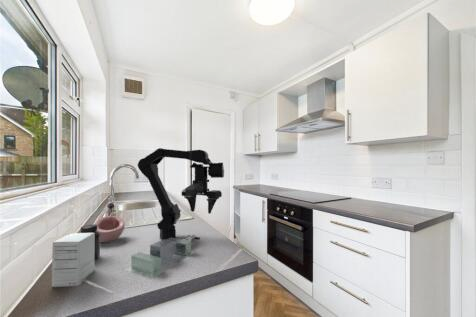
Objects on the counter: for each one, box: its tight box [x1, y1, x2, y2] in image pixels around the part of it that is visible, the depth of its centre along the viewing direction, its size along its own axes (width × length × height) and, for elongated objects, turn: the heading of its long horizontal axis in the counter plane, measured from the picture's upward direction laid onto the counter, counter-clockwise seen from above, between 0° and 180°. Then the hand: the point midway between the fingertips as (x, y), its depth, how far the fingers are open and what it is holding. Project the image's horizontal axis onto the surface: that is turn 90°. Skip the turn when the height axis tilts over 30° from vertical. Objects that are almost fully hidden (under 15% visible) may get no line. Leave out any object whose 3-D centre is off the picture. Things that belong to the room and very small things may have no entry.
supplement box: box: [51, 232, 95, 288], centre depth 60 cm, size 7×7×13 cm
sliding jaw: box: [166, 234, 201, 255], centre depth 80 cm, size 10×12×4 cm
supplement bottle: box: [79, 223, 101, 262], centre depth 72 cm, size 7×7×12 cm
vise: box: [124, 250, 195, 280], centre depth 70 cm, size 12×20×5 cm, turn 154°
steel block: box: [149, 239, 173, 265], centre depth 69 cm, size 4×6×6 cm
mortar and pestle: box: [93, 215, 126, 243], centre depth 89 cm, size 12×12×12 cm
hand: (201, 212), depth 90 cm, fingers open, 9 cm apart
